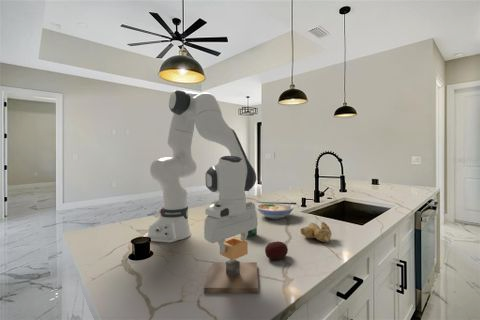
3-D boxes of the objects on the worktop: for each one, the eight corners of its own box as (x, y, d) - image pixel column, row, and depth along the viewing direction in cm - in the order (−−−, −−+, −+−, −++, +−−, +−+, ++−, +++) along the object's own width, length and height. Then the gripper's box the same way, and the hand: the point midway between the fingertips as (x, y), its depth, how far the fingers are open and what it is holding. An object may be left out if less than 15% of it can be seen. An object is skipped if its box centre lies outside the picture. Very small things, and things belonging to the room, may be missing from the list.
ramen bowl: (250, 221, 139) (250, 207, 139) (259, 211, 161) (259, 199, 161) (294, 224, 132) (294, 210, 132) (296, 214, 154) (296, 201, 154)
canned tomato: (255, 239, 112) (255, 216, 111) (239, 238, 113) (239, 215, 113) (257, 233, 120) (257, 211, 119) (242, 232, 121) (242, 211, 121)
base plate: (204, 292, 70) (203, 274, 70) (212, 266, 86) (212, 251, 86) (258, 293, 69) (258, 274, 69) (256, 266, 85) (256, 251, 85)
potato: (260, 257, 93) (260, 242, 92) (280, 251, 98) (280, 236, 98) (272, 265, 86) (272, 248, 86) (293, 258, 92) (293, 242, 91)
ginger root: (321, 246, 99) (318, 225, 101) (293, 243, 113) (290, 225, 114) (344, 239, 108) (341, 220, 110) (316, 237, 121) (313, 220, 123)
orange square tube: (232, 260, 73) (232, 247, 73) (219, 254, 78) (219, 242, 77) (247, 253, 77) (247, 241, 77) (234, 248, 82) (234, 236, 82)
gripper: (248, 199, 86) (249, 237, 87) (200, 210, 72) (202, 254, 73) (261, 202, 82) (262, 242, 82) (213, 213, 68) (214, 261, 68)
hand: (233, 248), depth 77 cm, fingers closed on orange square tube, 6 cm apart
